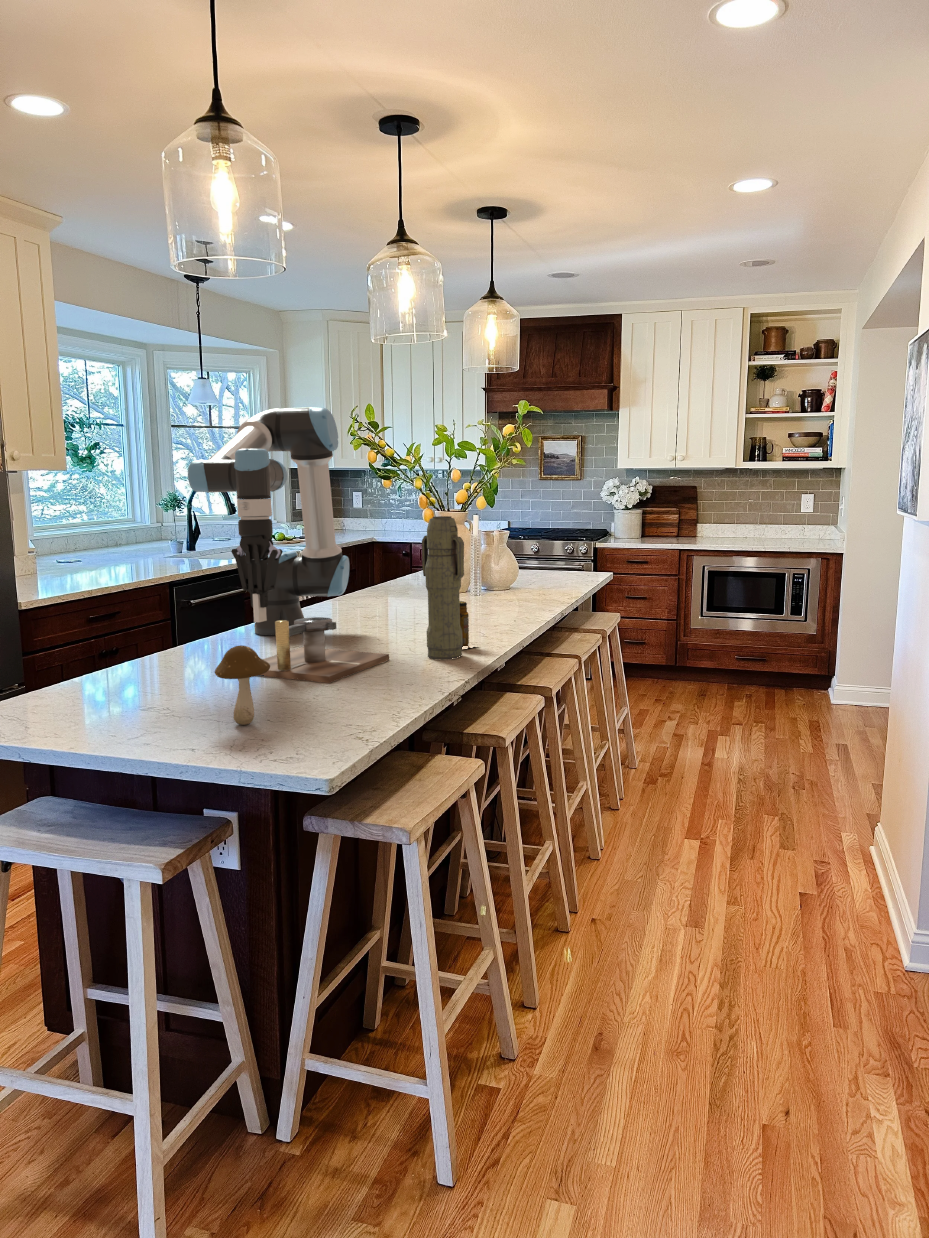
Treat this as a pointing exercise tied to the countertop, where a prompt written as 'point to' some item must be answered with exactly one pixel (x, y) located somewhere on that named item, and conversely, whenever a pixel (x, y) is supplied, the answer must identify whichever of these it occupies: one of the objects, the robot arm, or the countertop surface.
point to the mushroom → (242, 678)
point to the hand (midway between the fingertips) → (260, 621)
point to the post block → (323, 661)
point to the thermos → (443, 586)
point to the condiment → (464, 623)
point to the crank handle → (299, 627)
